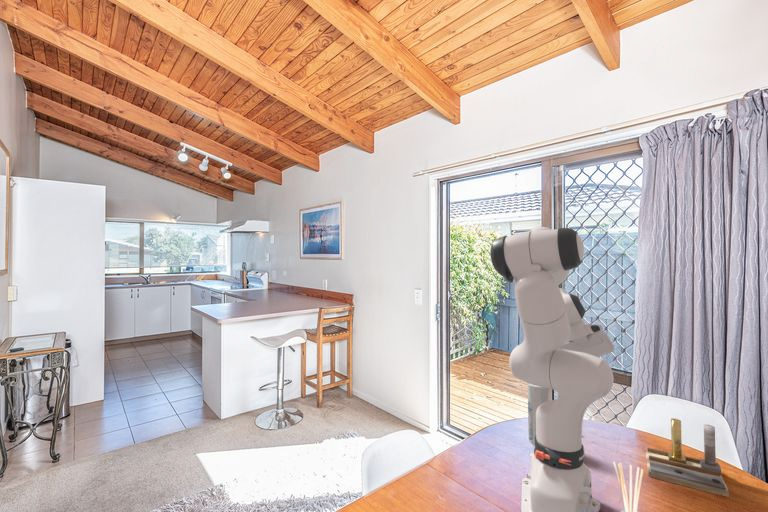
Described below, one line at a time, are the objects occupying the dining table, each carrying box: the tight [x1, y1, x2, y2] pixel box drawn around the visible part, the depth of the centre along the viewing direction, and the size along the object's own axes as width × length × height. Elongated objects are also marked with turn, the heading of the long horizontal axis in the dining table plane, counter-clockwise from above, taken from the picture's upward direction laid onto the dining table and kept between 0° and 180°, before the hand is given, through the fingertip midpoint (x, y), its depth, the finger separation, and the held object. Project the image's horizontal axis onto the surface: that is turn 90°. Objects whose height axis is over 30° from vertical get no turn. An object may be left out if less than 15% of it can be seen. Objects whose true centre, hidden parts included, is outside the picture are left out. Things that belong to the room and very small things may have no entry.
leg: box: [667, 417, 686, 464], centre depth 108 cm, size 4×4×12 cm
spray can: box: [527, 383, 549, 446], centre depth 124 cm, size 6×6×20 cm
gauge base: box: [645, 424, 730, 498], centre depth 105 cm, size 14×17×14 cm
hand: (595, 374), depth 119 cm, fingers closed
